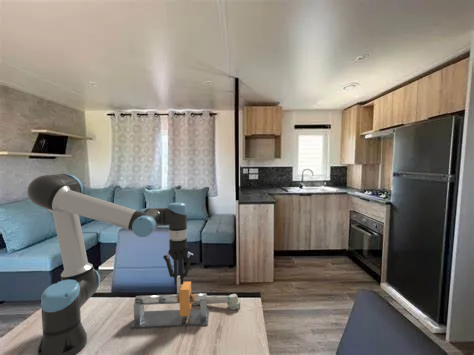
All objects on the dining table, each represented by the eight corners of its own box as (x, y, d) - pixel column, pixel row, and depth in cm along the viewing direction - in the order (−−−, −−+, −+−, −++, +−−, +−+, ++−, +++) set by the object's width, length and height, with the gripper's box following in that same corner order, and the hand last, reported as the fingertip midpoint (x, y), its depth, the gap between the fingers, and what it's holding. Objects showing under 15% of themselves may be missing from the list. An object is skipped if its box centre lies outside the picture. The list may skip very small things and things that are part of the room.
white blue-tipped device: (190, 293, 126) (239, 290, 122) (192, 306, 127) (241, 303, 122) (186, 299, 121) (238, 295, 117) (189, 312, 121) (240, 309, 117)
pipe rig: (130, 328, 105) (129, 303, 105) (138, 313, 116) (138, 290, 116) (207, 325, 107) (207, 300, 107) (209, 310, 118) (208, 287, 118)
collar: (179, 316, 108) (179, 289, 107) (182, 306, 116) (182, 281, 115) (189, 315, 108) (188, 289, 108) (191, 306, 116) (191, 281, 116)
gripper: (160, 241, 106) (162, 296, 107) (192, 240, 107) (193, 295, 108) (164, 236, 113) (166, 287, 115) (194, 235, 114) (195, 286, 115)
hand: (179, 291), depth 111 cm, fingers closed
